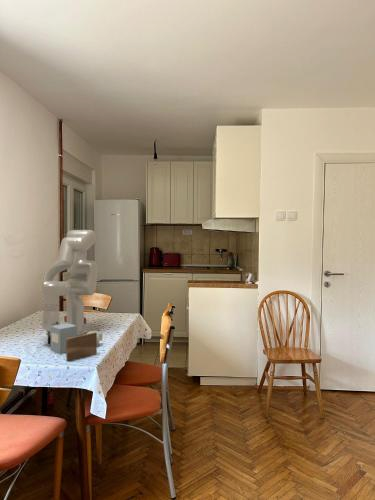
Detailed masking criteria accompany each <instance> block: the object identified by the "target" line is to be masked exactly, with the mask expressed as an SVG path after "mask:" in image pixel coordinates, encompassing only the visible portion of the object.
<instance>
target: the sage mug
mask: <svg viewBox="0 0 375 500" xmlns="http://www.w3.org/2000/svg"><path fill="white" fill-rule="evenodd" d="M94 332H96V333H97V348H98V347H100V342H101V341H103V332H100V331H99V330H89V331H87V332H86V334H90V333H94Z"/></svg>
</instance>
